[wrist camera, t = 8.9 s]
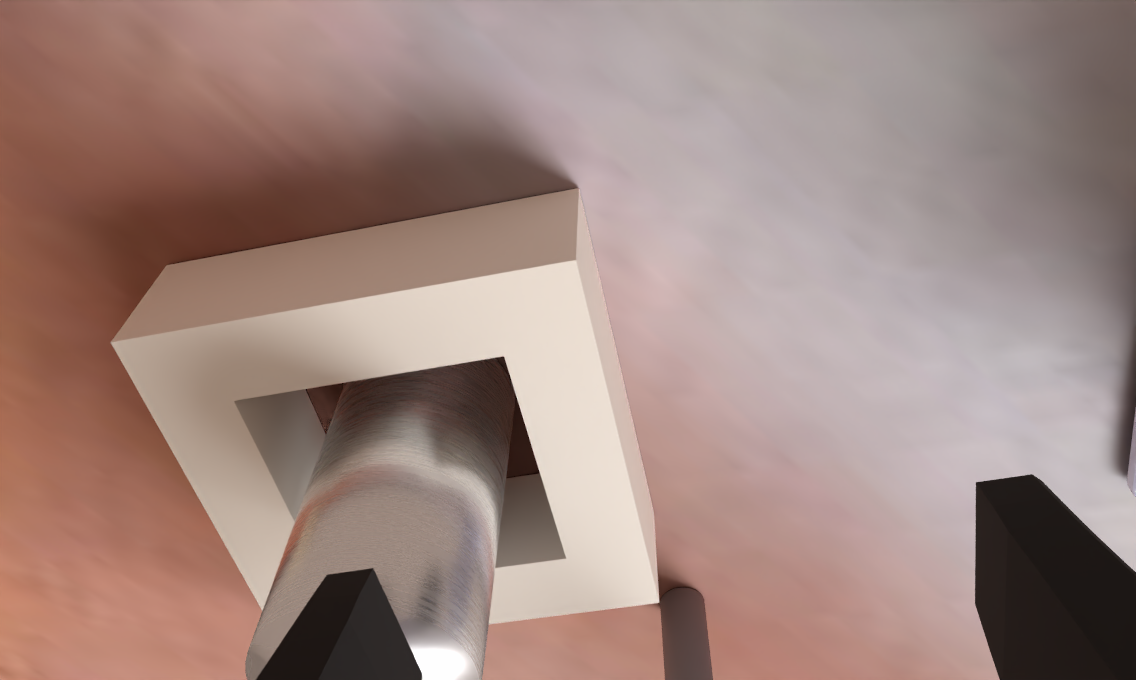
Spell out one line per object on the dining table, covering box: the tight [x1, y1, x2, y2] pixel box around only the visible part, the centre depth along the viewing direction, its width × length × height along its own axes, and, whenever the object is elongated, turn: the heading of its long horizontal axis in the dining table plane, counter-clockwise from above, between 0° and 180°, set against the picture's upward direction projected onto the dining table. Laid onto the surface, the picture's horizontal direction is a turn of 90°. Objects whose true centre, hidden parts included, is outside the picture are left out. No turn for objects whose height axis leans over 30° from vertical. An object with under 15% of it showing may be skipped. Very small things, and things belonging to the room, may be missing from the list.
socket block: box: [111, 188, 659, 624], centre depth 22 cm, size 9×9×3 cm
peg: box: [246, 358, 515, 680], centre depth 20 cm, size 4×4×8 cm
